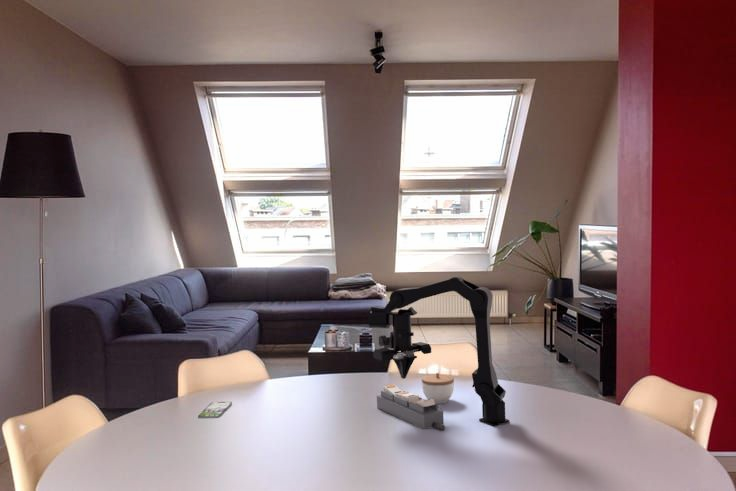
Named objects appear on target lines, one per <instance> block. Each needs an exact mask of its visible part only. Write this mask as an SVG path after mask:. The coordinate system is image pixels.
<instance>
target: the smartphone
mask: <svg viewBox="0 0 736 491" xmlns="http://www.w3.org/2000/svg"><path fill="white" fill-rule="evenodd" d="M231 406H233V402H232V401H212V402H210V403H209V404H208V405H207V406H206V407H205V408H204V410H202V411H201V413H200V414H199V415H197V418H198V419H217V418H221V417H222V416H223V415H224V413H226V412H227V411H228V409H230V407H231Z"/></svg>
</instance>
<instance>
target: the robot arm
mask: <svg viewBox="0 0 736 491" xmlns="http://www.w3.org/2000/svg"><path fill="white" fill-rule="evenodd" d="M448 292H455V293H456V294H458V295H459V296H461V297H462V298H463V299H465V300H466V301H468V302H469V307H470V311H471V312H472V315H473V318H474V323H475V326H474V327H475V340H476V341H475V342H476V354H477V355H476V356H477V368H476V369H475V370H474V371H473V372H472V373H471V378H472V385H471V386H472V388H474V392H475V394H476V395H477V396H478V397H480V400H481V402H482V405H481V406H482V407H481V410H482V411H481V412H482V417H481V418H479V419H478V421H479V422H482V423H486V424H487V425H490V426H492V427H495V426H499V425H503V424H507V423H509V422H510V419H507V418H506V401H504V400H503V399H504V398H505V396H506V393H507V392H506V389H505V388H503V387H502V386H501V384H499V380H498V377H497V372H496V369H495V368H494V365H493V357H492V356H493V354H492V340H491V325H490V323H491V322H490V316H491V312H492V306H493V299H494V298H493V297H494V296H493V292H492V291H491V290H490V289H489V288H487V287H486V286H485V287H484V286H479V285H477V284H475V283H472V282H470V281H468V280H466V279H464V278H462V277H461V276H459V275H457V276H453V277H451V278H448V279H444V280H441V281H438V282H435V283H430V284H427V285H423V286H420V287H419V286H418V287H406V288H405V287H404V288H398V289H397V290H393V291H392V292H391V294H390V296H389V301H388V302H387V304H386V305H385V307H381V306H380V307H379V306H372V307H371V308H370V312H369V314H368V315H369V316H368V326H369V328H371V329H386V330H387V329H390V326H392V331H391V332H390V336H389V337H387V336H386V335H380V336H378V345H379V347H380V348H375V349H374V351H373V353H372V355H373V356H372V357H373V359H375V360H378V361H382V362H386V361H390V360H391V361H393V362H394V364H395V365H396V367H397V370H398V373H399V375H400V378H401V379H406V378H407V376H408V373H409V371H410V369H411V368H412V365H413V362H414V361H415V359H417V358H418V356H417V355H415V353H417V352H418V353H419V352H421V353H422V355H423V354H424V355H427V354H431V353H432V347H431V345H430V344H429V343H427V342H422V341H419V342H418V341H417V342H413V343H412V337H414V335H415V334H414V333H415V332H414V331H413V332H412V322H411V320H412V318H411V317H414V316H415V315H417V314H418V312H417V310H415V309H414V308H413V306H411V307H408V306H410V305H412V304H414V303H416V302H419V301H421V300H423V299H426V298H430V297H434V296H437V295H441V294H445V293H448ZM405 307H408V309H402V308H405ZM395 310H398V311H395Z"/></svg>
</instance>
